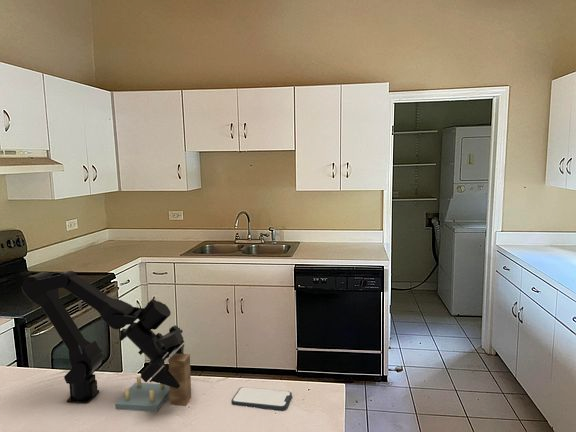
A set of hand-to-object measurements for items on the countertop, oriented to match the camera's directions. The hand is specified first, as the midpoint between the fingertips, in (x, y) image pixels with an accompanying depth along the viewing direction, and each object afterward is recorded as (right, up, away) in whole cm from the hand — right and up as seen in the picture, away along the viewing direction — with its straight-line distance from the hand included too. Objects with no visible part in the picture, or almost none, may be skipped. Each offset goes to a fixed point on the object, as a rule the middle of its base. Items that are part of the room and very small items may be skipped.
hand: (184, 379), depth 124 cm
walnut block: (-1, -7, +1) cm, 7 cm away
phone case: (+22, -7, +1) cm, 23 cm away
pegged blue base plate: (-12, -6, +2) cm, 14 cm away
